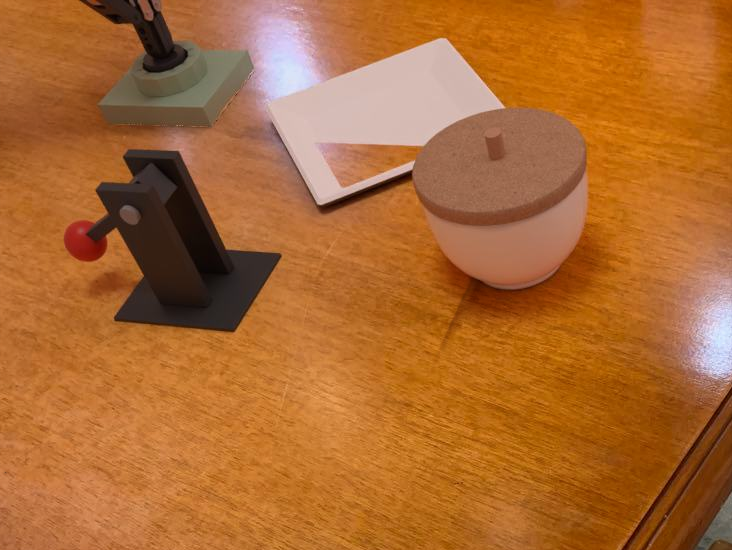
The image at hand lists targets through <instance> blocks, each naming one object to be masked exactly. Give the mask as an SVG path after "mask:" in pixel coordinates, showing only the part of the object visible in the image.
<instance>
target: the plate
mask: <svg viewBox="0 0 732 550" xmlns="http://www.w3.org/2000/svg"><path fill="white" fill-rule="evenodd" d="M263 107H264V109H265V111H266V113H267V114H268V117H269V118H270V121H271V122H272V124H273V125H274V127H275V129H276V132H277V133H278V135H279V136H280V137H279V138H281V140H282V142H283V144H284V146H285V147H286V149H287V151H288V153H289V155H290V156H291V159H292V160H293V162H294V164H295V166H296V168H297V170H298V172H299V173H300V175H301V177H302V178H303V180H304V182H305V184H306V186H307V188H308V189H309V191H310V194H311V195H312V197H313V199H314V200H315V203H316V204H317V205H318V206H320V207H324V208H325V207H328V206H331V205H333V204H336V203H338V202H341V201H343V200H346V199H349V198H351V197H353V196H356V195H359V194H362V193H364V192H367V191H369V190H371V189H374V188H376V187H379V186H382V185H384V184H387V183H389V182H392V181H394V180H398V179H399V178H402V177H405V176H407V175H410V174H412V170H413V165H414V162H415V160H416V159H415V160H412V161H410V162H407V163H405V164H401V165H399V166H397V167H393V168H392V169H389V170H386V171H384V172H381V173H379V174H376V175H373V176H371V177H369V178H366V179H363V180H361V181H358V182H356V183H353V184H350V185H348V186H346V187H344V186H343V187H342V186H341V185H340V183H339V181H338V179H337V177H336V176H335V174H334V172H333V171H332V169H331V167H330V165H329V164H328V162H327V161H326V159H325V156H324V155H323V154H322V152H321V150H320V148H319V147H318V145H317V144H318V143H321V144H346V145H347V144H348V145H349V144H350V145H351V144H352V145H353V144H354V145H381V146H409V147H410V146H411V147H423V146H424V145H425V144H426V143H427V142H428V141H429V140H430V139H431V138H432V137H433V136H435V135H436V134H437V133H438V132H440V131H441V130H443V129H444V128H446V127H448V126H450V125H451V124H453V123H455V122H457V121H459V120H462V119H464V118H467V117H469V116H472V115H475V114H478V113H481V112H486V111H491V110H496V109H503V108H506V106H505V105H504V104H503V103H502V102H501V101H500V99H499V98H498V97H497V96H496V94H495V93H494V92H493V91H492V90H491V89H490V88H489V86H488V85H487V84H486V83H485V82H484V80H483V79H481V77H480V76H479V74H477V73H476V71H475V70H474V69H473V68H472V67H471V65H470V64H469V63H468V62H467V61H466V60H465V58H464V57H463V56H462V55H461V54H460V53H459V51H458V50H457V49H456V48H455V47H454V45H452V42H450V41H449V39H447V38H446V37H439V38H437V39H434V40H431V41H429V42H425V43H422V44H421V45H418V46H416V47H412V48H411V49H407V50H405V51H402V52H399V53H396V54H394V55H391V56H388V57H386V58H383V59H381V60H378V61H375V62H373V63H370V64H367V65H364V66H362V67H359V68H357V69H354V70H351V71H348V72H346V73H343V74H340V75H338V76H335V77H332V78H330V79H327V80H324V81H322V82H319V83H317V84H314V85H311V86H308V87H305V88H303V89H301V90H298V91H296V92H292V93H290V94H288V95H285V96H282V97H279V98H277V99H274V100H271V101H268V102H267V103H266V104H265V105H264V106H263ZM316 143H317V144H316Z"/></svg>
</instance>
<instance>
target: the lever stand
mask: <svg viewBox="0 0 732 550" xmlns="http://www.w3.org/2000/svg"><path fill="white" fill-rule="evenodd" d="M122 159H123V161H124V162H125V165H126V167H127V168H128V170H129V172H130V174H131V176H132V178H133V177H134V176H136V175H137V174H138V173H139V172H140V171H142V170H143V169H144V168H145V167H147V166H148V165H149V164H150V163H153V164H154V165H155V166H156V167H157V168H158V169H159V170H160V171H161V172H162V173H163V174H164V175H165V176H166V177H167V178H169V179H170V180H171V181H172V182H173V183H174V184H175V185H176V186H177V189H176V190H175V192H174V193H173V194H172V196H171V197H170V198H169V200H168V201H167V202H166V204H165V205H163V203H162V201H161V199H160V197H159V195H158V193H157V191H156V189H155V187H154V186H153V184H133V183H129V182H111V181H110V182H109V181H101V182H100V183H99V185H98V186H97V187H96V188H95V189H94V190H95V191H94V192H95V193H96V195H97V196H98V199H99V200H100V202H101V204H102V205H103V207H104V208H105V210H106V212H107V213H108V214H109V216H110V217H111V219H112V221H113V222H114V224H115V226H116V228H115V229H117V231H118V233H119V235H120V236H121V238H122V239H123V242H124V244H125V245H126V247H127V248H128V249H127V250H128V251H129V252H130V254H131V256H132V257H133V259H134V261H135V263H136V264H137V266H138V268H139V270H140V271H141V274H142V275H143V276H142V278H141V279H140V280H139V281H138V283H137V284H136V286H135V287H134V289H133V290H132V291H131V292H130V294H129V296H128V297H127V298H126V300H125V301H124V302H123V304H122V305H121V307H120V308H119V309H118V311H117V312H116V313H115V315H114V316H113V320H114V321H115V322H123V323H134V324H143V325H153V326H154V325H155V326H163V327H164V326H165V327H175V328H185V329H187V328H188V329H196V330H208V331H217V332H218V331H219V332H228V333H235V332H236V330H238V327H240V324H241V322H242V321H243V319H244V318H245V316H246V315H247V313H248V311H249V310H250V308H251V306H252V305H253V303H254V301H255V300H256V298H257V297H258V295H259V294H260V292H261V291H262V289H263V287H264V286H265V284H266V282H267V281H268V280H269V278H270V276H271V275H272V273H273V271H274V270H275V268H276V266H277V265H278V263H279V262H280V260H281V259H282V253H281V252H271V251H269V252H268V251H266V252H265V251H253V250H252V251H251V250H238V249H227V248H226V246H225V244H224V241H223V240H222V238H221V236H220V234H219V232H218V230H217V227H216V225H215V223H214V221H213V219H212V217H211V215H210V213H209V211H208V209H207V207H206V204H205V202H204V200H203V198H202V196H201V193H200V192H199V190H198V188H197V186H196V184H195V181H194V180H193V177H192V175H191V173H190V171H189V168H188V166H187V165H186V162H185V160H184V159H183V156H182V154H181V153H180V151H179V150H168V149H167V150H165V149H164V150H163V149H162V150H161V149H139V148H136V149H135V148H129V149H127V151H125V153H124V154H123V155H122Z"/></svg>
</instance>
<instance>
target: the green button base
mask: <svg viewBox="0 0 732 550" xmlns="http://www.w3.org/2000/svg"><path fill="white" fill-rule="evenodd" d="M173 43H174V44H178V45H180V46H182V48H183V50H184V52H185V54H186V57H187V59H186V60H185V61H184V62H183V63H182V64H180V65H179V66H177V67H175V68H173V69H172V70H168V71H164V72H161V73H149V72H148V71H147V68H146V66H145V64H144V62H143V58H144V56H145V55H146V54H147V52H146V51H145V50H144V51H143V52H141V54H139V55H138V56H137V57H136V59H134V61H133V62H131V65H130V67H129V68H128V69H127V71H126V72H125V73H124V74H123V75H122V76H121V77H120V78H119V79H118V81H117V82H116V83H115V84H114V86H113V87H112V88H111V89H110V90H109V91H108V92H107V93H106V94H105V96H104V97H103V98H102V99H101V100H100V102H98V104H97V107H98V108H99V110H100V112H101V115H102V116H103V118H104V119H105V122H106V123H107V125H108V124H126V125H125V126H128V125H127V124H130V125H129V126H138V125H140V124H141V125H163V126H162V127H171V126H176V125H178V126H179V125H181V126H182V125H183V126H204V127H205V126H206V127H207V126H208V127H212V125H213V124H214V123H215V121H216V119H217V118H218V117H219V115H220V113H221V111H222V110H223V108H224V107H225V106H226V104H227V103H228V102H229V101H230V99H231V98H232V97H233V96H234V95H235V94H236V92H237V91H238V90H239V89H240V88H241V86H242V84H243V83H244V82H245V80H246V79H247V78H248V76H249V74H250V73H251V72H252V70H253V69H255V65H254V63H253V61H252V58H251V56H250V53H249V51H248V49H201V47H200V46H199V45H197V44H196V43H194V42H192V41H190V40H173ZM132 124H133V125H132ZM134 124H135V125H134ZM137 124H138V125H137ZM215 124H216V123H215ZM215 124H214V125H215ZM164 125H165V126H164ZM166 125H167V126H166ZM204 127H203V128H204ZM212 128H213V127H212Z"/></svg>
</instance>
